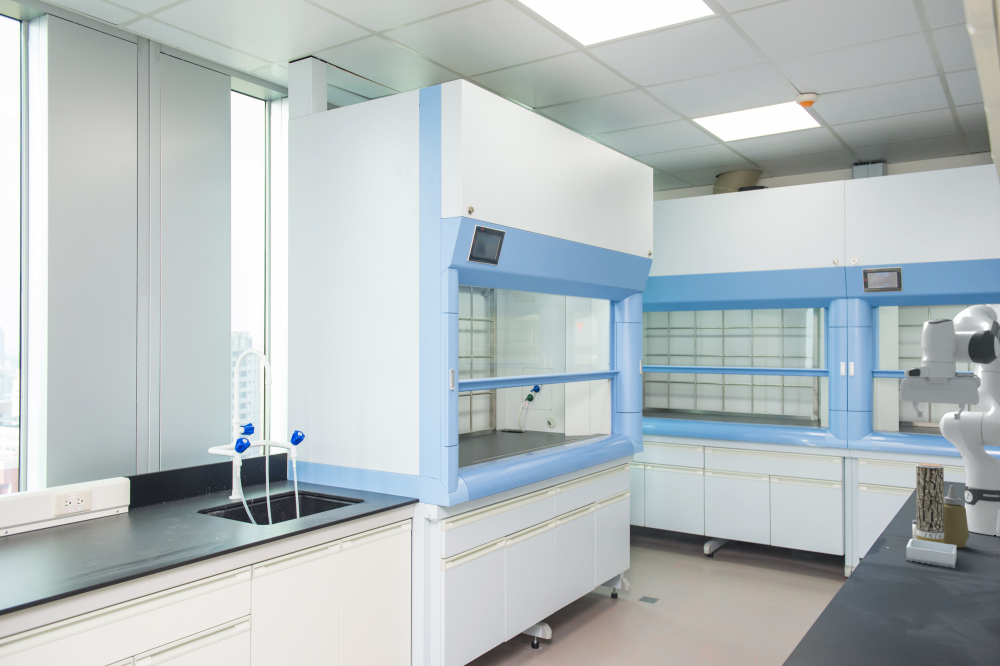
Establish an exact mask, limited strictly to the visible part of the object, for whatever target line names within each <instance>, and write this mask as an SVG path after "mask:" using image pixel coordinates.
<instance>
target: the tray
mask: <svg viewBox="0 0 1000 666" xmlns="http://www.w3.org/2000/svg"><path fill="white" fill-rule="evenodd" d="M905 549H906V550H905V551H906V553H905V554H906V556H905V557H906V560H908V561H907V562H912V561H915V562H914V563H918V562H921V563H920V564H924V563H927V564H926V565H930V564H932V566H937V565H938V567H943V566H945V567H944V568H949V567H951V569H956V565H955V564H957V560H956V559H957V558H958V557H957V553H958V551H957V549H958V548H957V545H951V544H944V543H937V542H930V541H923V540H916V539H913V538H910V539H909V540H908V542H907V544H906V547H905Z"/></svg>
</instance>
